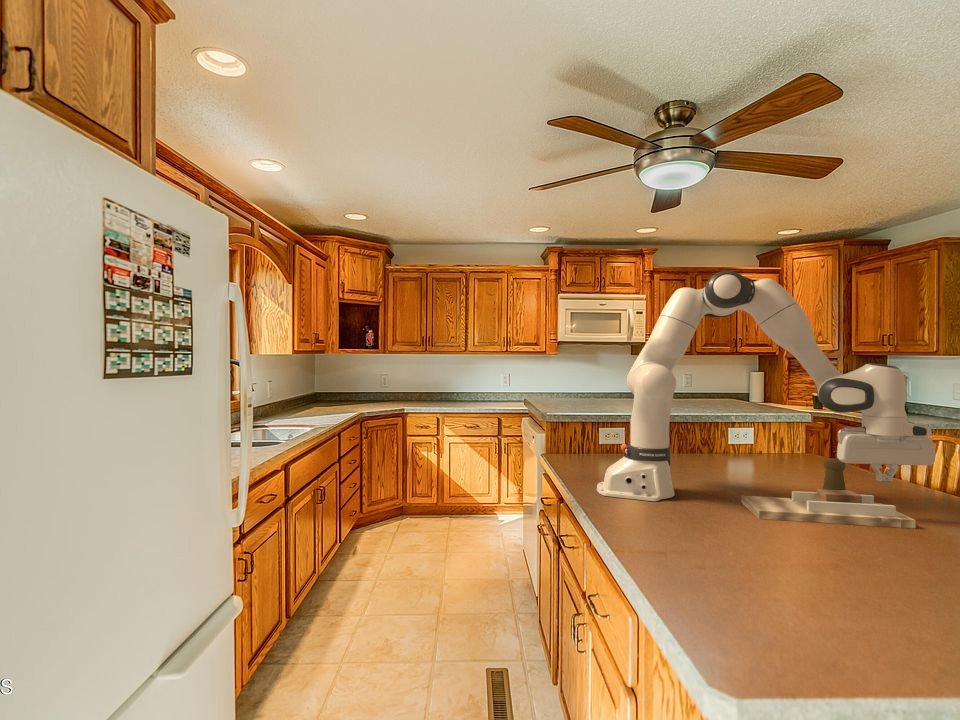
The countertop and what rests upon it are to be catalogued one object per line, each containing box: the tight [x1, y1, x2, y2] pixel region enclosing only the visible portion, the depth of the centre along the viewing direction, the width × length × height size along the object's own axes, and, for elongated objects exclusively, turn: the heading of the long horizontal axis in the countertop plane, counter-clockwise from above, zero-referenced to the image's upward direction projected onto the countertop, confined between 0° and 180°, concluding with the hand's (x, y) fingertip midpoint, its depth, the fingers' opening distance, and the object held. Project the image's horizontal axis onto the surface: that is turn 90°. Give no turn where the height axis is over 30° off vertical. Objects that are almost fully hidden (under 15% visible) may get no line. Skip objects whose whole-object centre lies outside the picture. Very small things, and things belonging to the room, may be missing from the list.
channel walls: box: [791, 490, 897, 517], centre depth 125 cm, size 19×10×2 cm, turn 78°
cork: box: [822, 458, 847, 491], centre depth 143 cm, size 6×6×11 cm
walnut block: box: [816, 488, 862, 504], centre depth 125 cm, size 8×5×4 cm, turn 78°
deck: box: [740, 495, 917, 530], centre depth 126 cm, size 34×14×2 cm, turn 78°
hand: (884, 481), depth 123 cm, fingers closed
